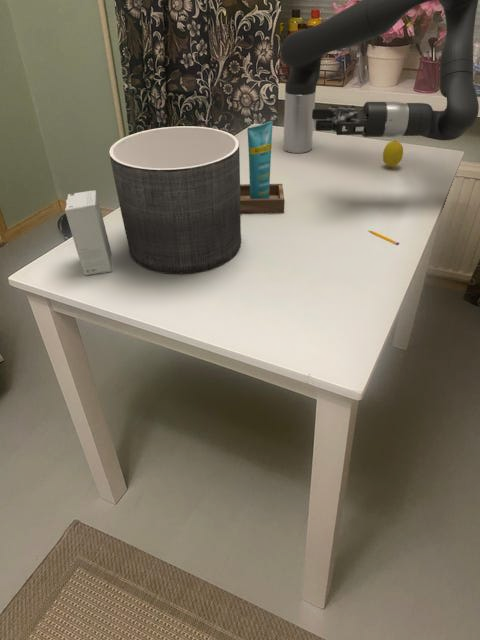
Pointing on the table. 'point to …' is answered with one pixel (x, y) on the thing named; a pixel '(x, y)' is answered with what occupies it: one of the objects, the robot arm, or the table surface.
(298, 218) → the table surface
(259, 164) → the tube
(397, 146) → the lemon
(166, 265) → the planter
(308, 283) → the table surface
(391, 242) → the pencil
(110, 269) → the skincare box
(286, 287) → the table surface
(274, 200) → the tray
